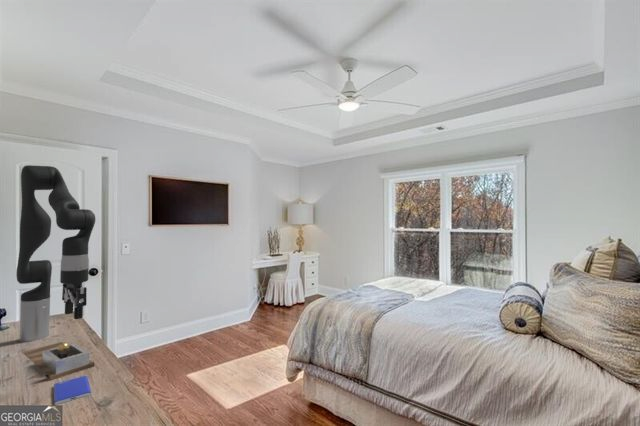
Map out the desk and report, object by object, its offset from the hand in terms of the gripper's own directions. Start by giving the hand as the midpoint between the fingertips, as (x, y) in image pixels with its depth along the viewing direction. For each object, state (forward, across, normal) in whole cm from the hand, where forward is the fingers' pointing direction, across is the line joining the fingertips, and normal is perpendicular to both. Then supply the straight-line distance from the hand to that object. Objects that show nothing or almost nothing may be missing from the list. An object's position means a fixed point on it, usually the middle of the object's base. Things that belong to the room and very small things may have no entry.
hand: (73, 316), depth 107 cm
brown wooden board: (+18, -14, 0) cm, 23 cm away
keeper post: (+17, -8, 0) cm, 19 cm away
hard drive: (+19, +15, -4) cm, 25 cm away
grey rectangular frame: (+17, -5, 0) cm, 18 cm away
